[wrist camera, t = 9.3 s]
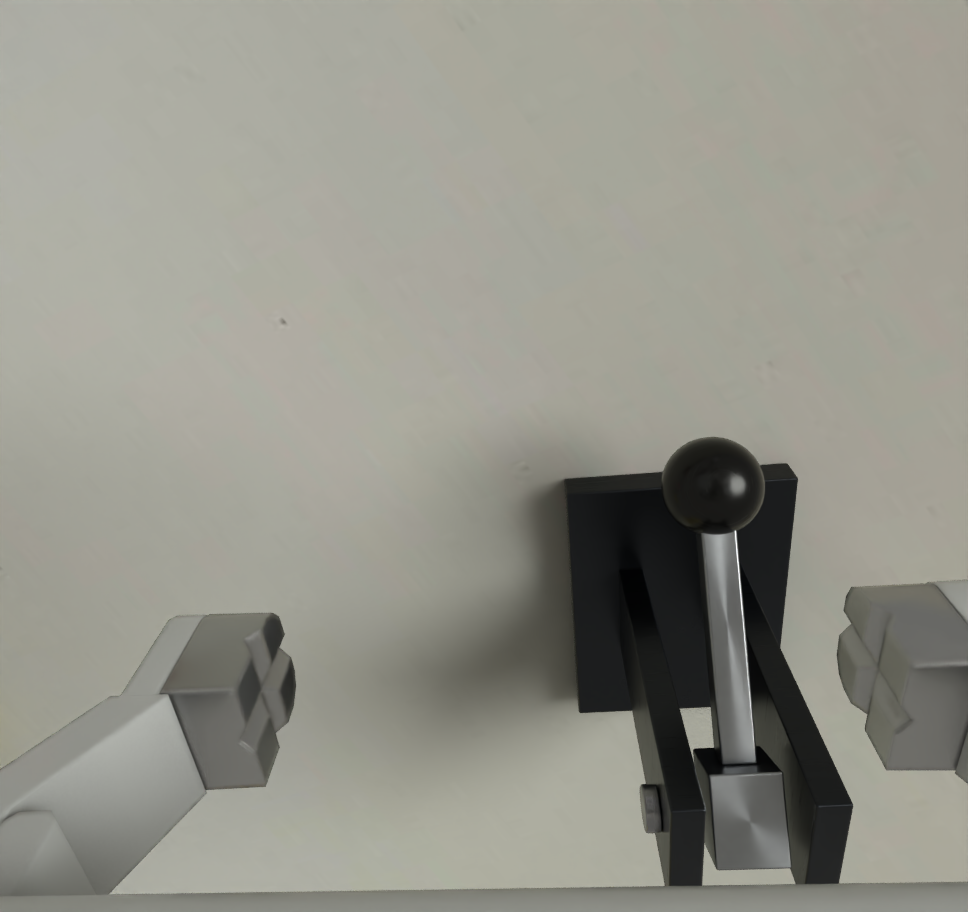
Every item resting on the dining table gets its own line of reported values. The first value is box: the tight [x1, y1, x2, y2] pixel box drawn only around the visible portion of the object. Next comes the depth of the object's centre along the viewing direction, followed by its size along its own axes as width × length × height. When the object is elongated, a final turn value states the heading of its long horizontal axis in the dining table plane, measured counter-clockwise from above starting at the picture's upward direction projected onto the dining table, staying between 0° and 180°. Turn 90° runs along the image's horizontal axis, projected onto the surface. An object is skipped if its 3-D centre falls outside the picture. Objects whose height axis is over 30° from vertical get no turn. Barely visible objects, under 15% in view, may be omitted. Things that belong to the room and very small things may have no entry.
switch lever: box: [661, 437, 792, 870], centre depth 23 cm, size 13×3×3 cm, turn 6°
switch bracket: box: [565, 464, 853, 886], centre depth 27 cm, size 12×9×13 cm
